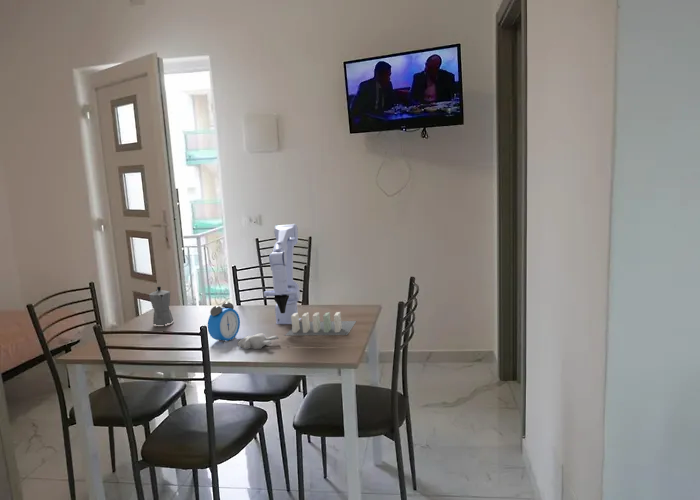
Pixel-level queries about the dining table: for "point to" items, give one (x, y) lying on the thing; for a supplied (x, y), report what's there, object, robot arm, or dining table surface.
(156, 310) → the coffeepot
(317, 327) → the domino
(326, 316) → the domino
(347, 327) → the mat
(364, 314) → the dining table surface
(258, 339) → the bunny figurine
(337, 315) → the white flat block
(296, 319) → the domino
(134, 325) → the dining table surface
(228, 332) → the alarm clock
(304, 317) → the domino
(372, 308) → the dining table surface
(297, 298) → the robot arm
